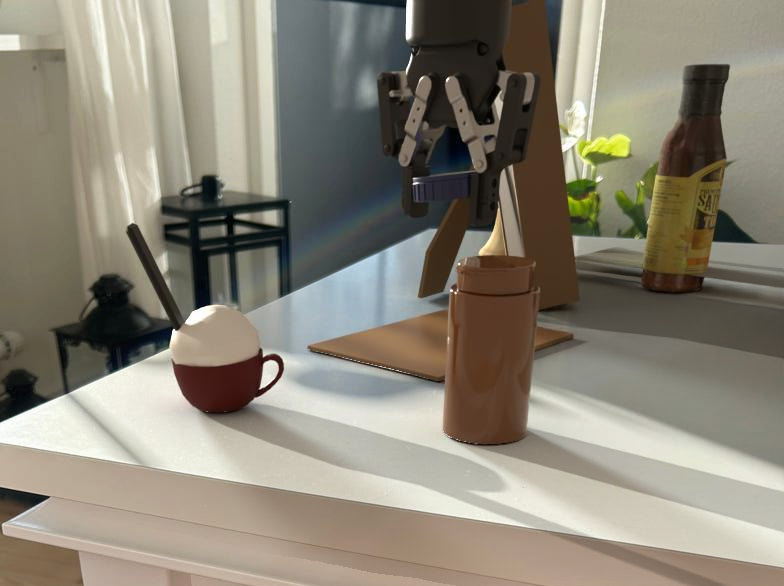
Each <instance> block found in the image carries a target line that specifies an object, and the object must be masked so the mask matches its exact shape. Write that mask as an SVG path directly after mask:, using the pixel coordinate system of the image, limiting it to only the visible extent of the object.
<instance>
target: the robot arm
mask: <svg viewBox="0 0 784 586" xmlns="http://www.w3.org/2000/svg"><path fill="white" fill-rule="evenodd" d="M512 4H513V0H406V23H405V39H406V42H407V44H408V45H410V49H411V55H410V59H409V62H408V65H407V67H406V69H405V70H399V71H397V70H396V71H381V72H379V74H378V75H377V76H376V77H377V78H376V88H377V102H378V116H379V129H380V141H381V151H382V154H383V155H384V157H392V158H393V159H395V160H397V161H398V163H399V165H400V166H401V197H400V199H401V201H400V202H401V203H400V204H401V207H402V210H403V211H404V213H403V214H404V216H405V218H408V219H418V218H424V217H426V216H427V215H428V212H429V203H430V202H414V201H413V189H412V184H413V178H415V177H421V176H428V175H431V166H430V165H427V164H428V163H429V162H430V159H431V156H432V153H433V151H434V148H435V146H436V143H437V140H439V139H440V138H441V137H442V136H443V134H444V132H445V130H446V128H447V127H449V128H451V129H458V132H459V134H460V137H461V140H462V143H464V144H465V145H466V146H467V149H468V151H469V155H470V159H471V162H472V164H473V166H474V169H475V171H476V172H477V173H475V174H471V186H470V202H469V219H468V222H469V224H468V226H471V227H478V228H479V227H480V228H481V227H485V226H490V225H491V224H492V222H493V219H494V218H496V217H497V213H498V208H499V206H498V201H499V197H498V196H499V188H500V176H501V172H502V171H503V169H504V168H506V167H508V166H510V165H513V164H515V163H521V162H523V161H524V160H525V158H526V154H527V149H528V144H529V139H530V134H531V129H532V124H533V119H534V114H535V109H536V104H537V99H538V94H539V89H540V84H541V79H540V76H539V74H537V73H530V72H525V73H518V72H513V71H509V70H507V66H506V63H505V60H504V53H503V51H504V46H505V43H506V41H507V40H508V38H509V33H510V20H511V6H513V5H512ZM500 91H501V94H500V96H499V98H500V100H502V102H503V106H502V111H501V117H500V120H499V117H498V113H497V109H496V105H495V102H494V101H495V99H496V98H497V96H498V94H499V93H500ZM411 97H413V99H414V101H413V103H412V105H411ZM411 106H412V107H411ZM479 124H481V125H479Z"/></svg>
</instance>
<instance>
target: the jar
mask: <svg viewBox="0 0 784 586" xmlns="http://www.w3.org/2000/svg"><path fill="white" fill-rule="evenodd" d="M535 268H536V263H535V261H533V260H531V259H528V258H524V257H518V256H507V255H483V256H479V255H473V256H467V257H464V258H461V259H459V260H458V261H457V266H456V267H455V270H454V271H455V272H456V283H454V284H452V285H451V286H450V287H449V297H448V310H449V314H448V333H447V352H446V371H445V380H444V393H443V408H442V409H443V411H442V428H443V429H442V432H443V431H444V432H443V434H444V433H445V434H447V435H448V436H450V437H452V438H454V439H458V440H460V441H466V442H470V443H477V444H476V445H478V444H499V445H502V444H501V443H507V442H512V443H514V442H513V441H515V442H518V441H521V440H522V439H523V438H525V437H526V435H527V432H528V424H529V423H528V422H529V412H530V401H531V391H532V390H531V388H532V380H533V370H534V360H535V351H536V350H535V339H536V329H537V327H538V319H539V317H538V316H539V310H538V308H539V298H540V288H539V287H538V286H536V285H534V279H535ZM534 350H535V351H534ZM445 434H444V435H445ZM448 436H447V437H448ZM454 439H453V440H454ZM517 440H518V441H517ZM460 441H459V442H460ZM507 444H508V443H507Z"/></svg>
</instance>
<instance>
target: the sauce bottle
mask: <svg viewBox="0 0 784 586" xmlns="http://www.w3.org/2000/svg"><path fill="white" fill-rule="evenodd" d="M730 68H731V64H729V63H689V64H685V65H684V66H683V69H682V70H683V72H682V78H681V80H682V91H681V98H680V105H679V109H678V111H677V117H678V119H677V120H676V122H675V123H674V125H673V127H672V129H671V130H670V131H668V133H667V134H666V136H665V138H664V140H663V141H662V143H661V148H660V151H659V161H658V167H657V173H656V174H655V179H654V185H653V192H652V199H651V206H650V211H649V219H648V226H647V232H646V238H645V244H644V245H645V246H644V251H643V260H642V266H641V268H642V276H641V286H642V287H644V289H648V290H650V291H656V292H668V293H680V292H681V293H682V292H692V291H698V290H700V289H701V288H702V287H703V285H704V282H705V281H704V280H705V276H700V275H699V274H704V273H707V271H708V268H709V262H710V256H711V251H712V245H713V240H714V233H715V228H716V223H717V217H718V211H719V206H720V200H721V195H722V188H723V182H724V178H725V171H726V167H727V166H726V165H727V161H728V159H727V158H728V157H727V152H726V146H725V139H724V134H723V126H722V119H721V116H722V114H723V111H722V107H723V99H724V94H725V90H726V89H725V88H726V84H727V82H728V81H729V78H730ZM697 274H698V275H697Z"/></svg>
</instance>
